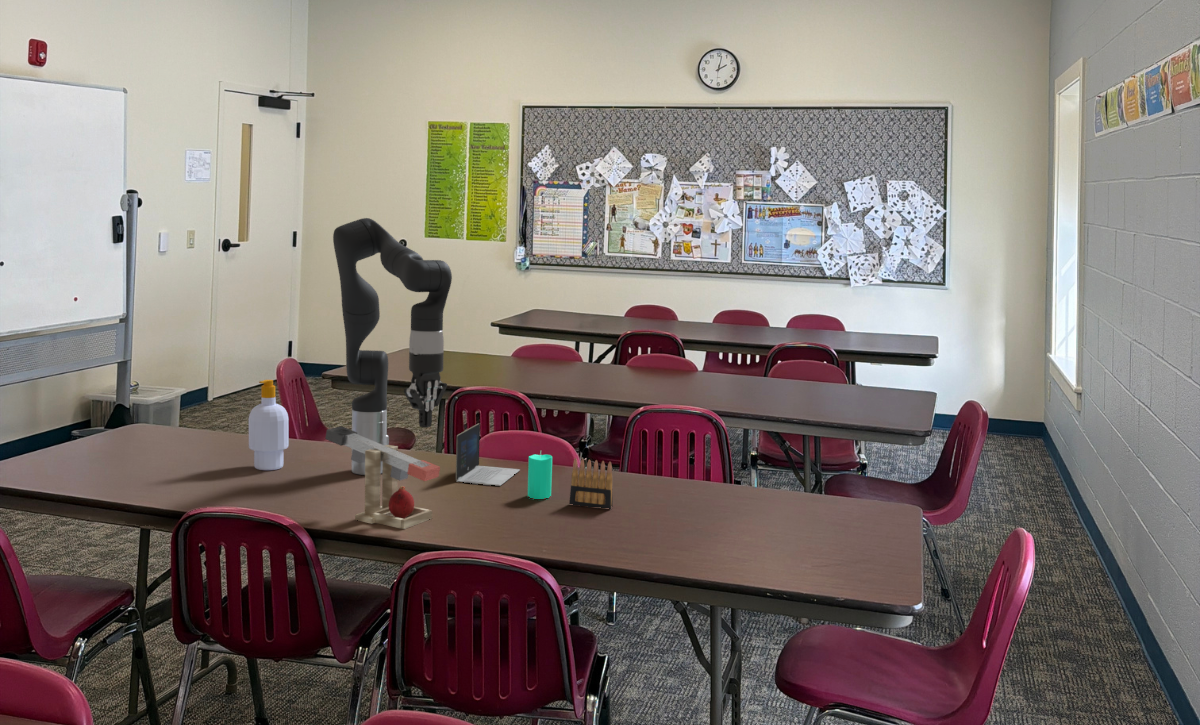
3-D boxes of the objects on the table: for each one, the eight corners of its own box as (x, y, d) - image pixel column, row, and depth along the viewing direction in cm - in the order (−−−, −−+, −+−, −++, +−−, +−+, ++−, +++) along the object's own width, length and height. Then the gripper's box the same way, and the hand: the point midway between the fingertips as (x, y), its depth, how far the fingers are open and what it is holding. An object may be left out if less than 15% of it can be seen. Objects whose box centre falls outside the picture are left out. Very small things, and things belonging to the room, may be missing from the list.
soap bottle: (240, 469, 271) (239, 380, 268) (267, 461, 281) (266, 376, 278) (271, 474, 268) (270, 384, 264) (296, 466, 277) (296, 379, 274)
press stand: (355, 519, 230) (355, 451, 228) (389, 508, 241) (390, 442, 238) (401, 530, 224) (402, 460, 222) (434, 517, 234) (436, 450, 232)
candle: (555, 495, 257) (556, 449, 256) (544, 501, 252) (545, 454, 250) (534, 492, 260) (536, 446, 258) (523, 497, 254) (524, 451, 253)
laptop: (500, 487, 264) (501, 439, 262) (455, 483, 266) (455, 435, 265) (520, 472, 281) (521, 426, 279) (477, 468, 284) (478, 422, 282)
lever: (323, 450, 237) (326, 429, 236) (338, 446, 242) (341, 426, 241) (422, 492, 224) (426, 471, 223) (436, 488, 229) (440, 467, 228)
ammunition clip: (612, 508, 248) (614, 461, 247) (610, 510, 247) (612, 462, 245) (571, 503, 251) (572, 456, 249) (569, 505, 249) (570, 458, 248)
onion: (408, 524, 228) (408, 490, 227) (384, 522, 229) (384, 488, 228) (417, 517, 234) (418, 484, 233) (394, 515, 235) (394, 482, 234)
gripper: (431, 346, 230) (430, 420, 233) (393, 351, 219) (392, 429, 221) (458, 349, 227) (456, 424, 229) (421, 354, 215) (419, 434, 218)
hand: (425, 426), depth 225 cm, fingers closed
